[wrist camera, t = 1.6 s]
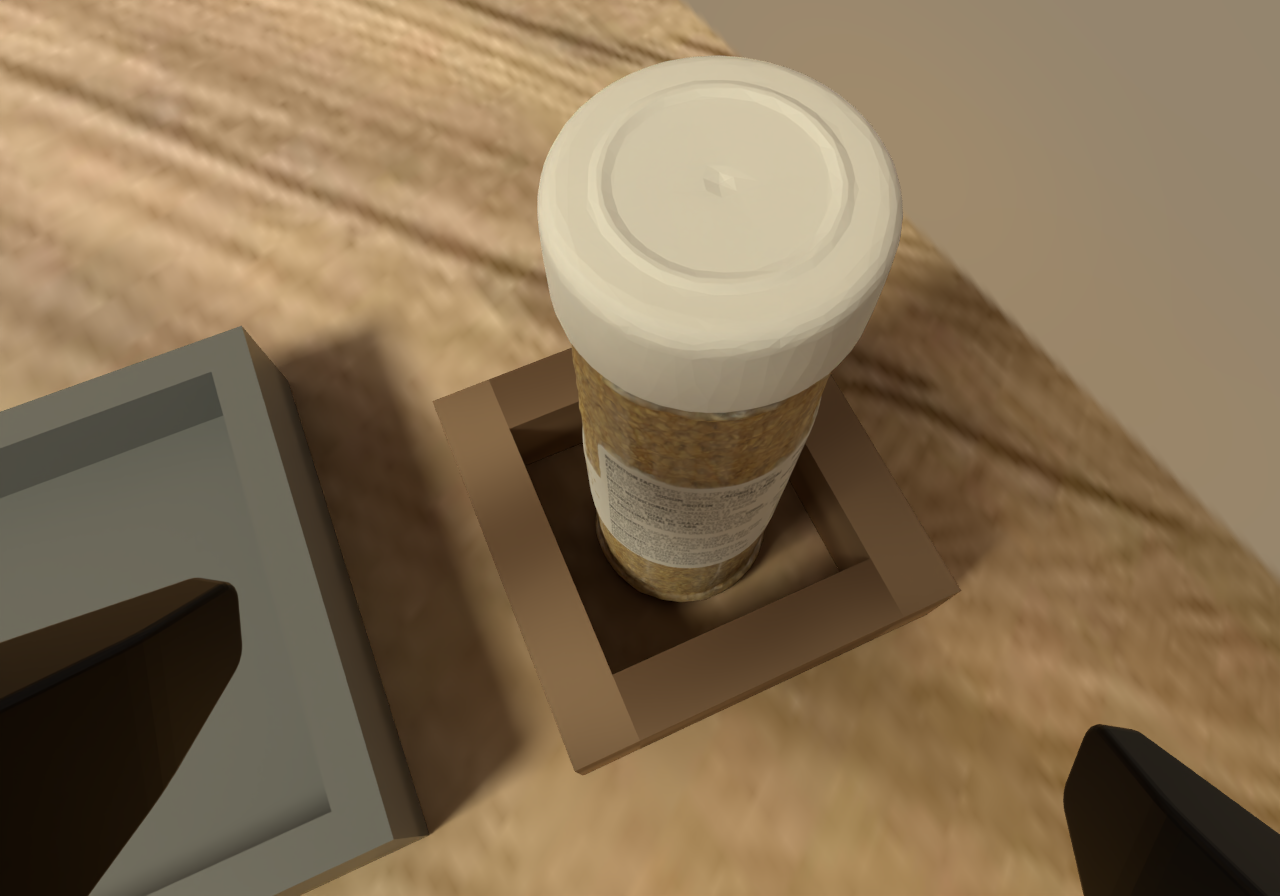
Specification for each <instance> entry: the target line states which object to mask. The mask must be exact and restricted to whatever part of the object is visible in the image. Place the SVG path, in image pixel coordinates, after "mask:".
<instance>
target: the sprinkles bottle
mask: <svg viewBox="0 0 1280 896" xmlns="http://www.w3.org/2000/svg"><path fill="white" fill-rule="evenodd" d="M902 219H903V209H902V195H901V188H900V183H899V179H898V176H897V172H896V169H895V165H894V163H893V160H892V158H891V156H890V154H889V152H888V150H887V148H886V147H885V145H884V143H883V142H882V140H881V138H880V137H879V135H878V134H877V132H876V131H875V130H874V128H873V127H872V125H871V124H870V123H869V122H868V121H867V120H866V119H865V117H864V116H863V115H862V114H861V113H860V112H859V111H858V110H857V109H856V108H855V107H854V106H853V105H851V104H850V103H849V102H848V101H847V100H845V99H844V98H843V97H842V96H840V95H839V94H838V93H836V92H835V91H833V90H832V89H830V88H829V87H827V86H826V85H824V84H822V83H820V82H818V81H817V80H815V79H813V78H811V77H809V76H807V75H805V74H802V73H799V72H797V71H795V70H792V69H790V68H787V67H784V66H780V65H777V64H774V63H770V62H766V61H761V60H755V59H750V58H744V57H731V56H698V57H689V58H682V59H677V60H671V61H666V62H663V63H659V64H656V65H652V66H649V67H646V68H644V69H641V70H639V71H636V72H634V73H631V74H629V75H627V76H625V77H623V78H621V79H619V80H617V81H615V82H614V83H612V84H610V85H609V86H607V87H605V88H604V89H602V90H601V91H600V92H598V93H597V94H596V95H594V96H593V97H592V98H591V99H590V100H588V101H587V102H586V103H585V104H584V105H582V106H581V107H580V108H579V109H578V110H577V111H576V112H575V113H574V115H573V116H572V117H571V118H570V119H569V120H568V121H567V123H566V124H565V125H564V127H563V128H562V130H561V131H560V133H559V135H558V136H557V138H556V140H555V141H554V143H553V145H552V147H551V149H550V151H549V153H548V156H547V158H546V161H545V163H544V166H543V170H542V174H541V178H540V184H539V190H538V225H539V234H540V240H541V247H542V254H543V260H544V266H545V271H546V276H547V281H548V286H549V291H550V297H551V300H552V304H553V307H554V310H555V314H556V316H557V318H558V319H559V321H560V323H561V325H562V327H563V329H564V331H565V333H566V335H567V337H568V339H569V341H570V342H571V344H572V356H573V364H574V368H575V373H576V385H577V389H578V391H579V409H580V412H581V415H582V424H583V447H584V454H585V459H586V465H587V471H588V477H589V483H590V488H591V493H592V497H593V501H594V504H595V507H596V533H597V537H598V541H599V543H600V545H601V548H602V551H603V553H604V555H605V557H606V558H607V560H608V561H609V563H610V564H611V566H612V568H613V569H614V570H615V571H616V572H617V573H618V574H619V575H620V576H621V577H622V578H623V579H624V580H625V581H626V582H628V583H629V584H630V585H631V586H633V587H634V588H635V589H636V590H638V591H639V592H641V593H644V594H647V595H651V596H654V597H656V598H659V599H662V600H669V601H676V602H689V601H697V600H705V599H707V598H709V597H711V596H713V595H716V594H718V593H721V592H723V591H724V590H726V589H728V588H729V587H731V586H732V585H733V584H735V583H736V582H737V581H738V580H739V579H741V578H742V577H743V575H744V574H745V573H746V572H747V571H748V570H749V568H750V567H751V565H752V564H753V563H754V561H755V559H756V557H757V555H758V552H759V550H760V546H761V544H762V542H763V536H764V530H765V528H766V526H767V524H768V523H769V521H770V519H771V517H772V515H773V513H774V511H775V509H776V506H777V504H778V502H779V500H780V498H781V495H782V493H783V491H784V489H785V487H786V484H787V482H788V480H789V478H790V475H791V473H792V471H793V469H794V466H795V464H796V462H797V460H798V458H799V455H800V453H801V451H802V449H803V447H804V445H805V443H806V440H807V438H808V436H809V434H810V431H811V429H812V426H813V424H814V421H815V418H816V416H817V413H818V409H819V405H820V401H821V396H822V393H823V390H824V388H825V385H826V383H827V380H828V378H829V376H830V374H831V372H832V370H833V369H835V368H836V367H837V366H838V365H839V364H840V363H841V362H842V360H843V359H844V358H845V357H846V356H847V355H848V354H849V353H850V352H851V351H852V349H853V348H854V346H855V345H856V343H857V342H858V340H859V339H860V337H861V335H862V333H863V331H864V329H865V327H866V325H867V323H868V321H869V319H870V317H871V314H872V312H873V310H874V308H875V306H876V303H877V301H878V299H879V296H880V294H881V291H882V289H883V287H884V284H885V281H886V279H887V276H888V274H889V271H890V268H891V266H892V263H893V260H894V257H895V254H896V251H897V248H898V245H899V241H900V236H901V228H902Z"/></svg>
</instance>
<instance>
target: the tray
mask: <svg viewBox="0 0 1280 896" xmlns="http://www.w3.org/2000/svg"><path fill="white" fill-rule="evenodd" d="M191 578H206V579H212V580H218V581H224V582H229V583H230V584H232V585H233V586H234V587H235V589H236V591H237V594H238V600H239V612H240V623H241V635H242V655H241V659H240V662H239V665H238V667H237V669H236V671H235V673H234V675H233V676H232V678H231V680H230V682H229V683H228V685H227V687H226V688H225V690H224V692H223V693H222V695H221V697H220V699H219V700H218V702H217V704H216V705H215V707H214V709H213V710H212V712H211V714H210V716H209V717H208V719H207V721H206V722H205V724H204V726H203V727H202V729H201V731H200V733H199V734H198V736H197V738H196V739H195V741H194V743H193V745H192V746H191V748H190V750H189V751H188V753H187V755H186V756H185V758H184V760H183V762H182V763H181V765H180V767H179V768H178V770H177V772H176V773H175V775H174V776H173V778H172V780H171V781H170V783H169V784H168V786H167V788H166V789H165V791H164V792H163V794H162V795H161V797H160V798H159V799H158V801H157V802H156V804H155V805H154V807H153V808H152V809H151V811H150V812H149V814H148V815H147V816H146V818H145V819H144V820H143V822H142V823H141V825H140V826H139V827H138V829H137V830H136V831H135V833H134V834H133V836H132V837H131V838H130V840H129V841H128V842H127V844H126V845H125V846H124V848H123V849H122V851H121V852H120V853H119V855H118V856H117V857H116V859H115V860H114V862H113V863H112V864H111V866H110V867H109V868H108V870H107V871H106V872H105V874H104V875H103V877H102V878H101V879H100V881H99V882H98V883H97V885H96V886H95V887H94V889H93V890H92V892H91V893H90V894H89V896H300V895H302V894H304V893H306V892H309V891H311V890H313V889H315V888H317V887H319V886H321V885H324V884H326V883H328V882H330V881H332V880H334V879H336V878H339V877H341V876H343V875H345V874H347V873H349V872H351V871H353V870H356V869H358V868H360V867H362V866H364V865H366V864H368V863H371V862H373V861H375V860H377V859H379V858H381V857H383V856H386V855H388V854H390V853H392V852H394V851H396V850H398V849H401V848H403V847H405V846H407V845H409V844H411V843H413V842H416V841H418V840H420V839H422V838H424V837H426V836H428V835H429V832H428V829H427V826H426V823H425V819H424V816H423V813H422V810H421V807H420V803H419V800H418V797H417V794H416V791H415V787H414V784H413V781H412V778H411V775H410V771H409V768H408V765H407V762H406V758H405V755H404V752H403V749H402V746H401V742H400V739H399V736H398V733H397V730H396V726H395V723H394V720H393V717H392V714H391V710H390V707H389V704H388V701H387V698H386V694H385V691H384V688H383V685H382V682H381V678H380V675H379V672H378V669H377V665H376V662H375V659H374V656H373V653H372V649H371V646H370V643H369V640H368V637H367V633H366V630H365V627H364V624H363V621H362V617H361V614H360V611H359V608H358V605H357V601H356V598H355V595H354V592H353V589H352V585H351V582H350V579H349V576H348V572H347V569H346V566H345V563H344V560H343V556H342V553H341V550H340V547H339V544H338V540H337V537H336V534H335V531H334V528H333V524H332V521H331V518H330V515H329V512H328V508H327V505H326V502H325V499H324V495H323V492H322V489H321V486H320V483H319V479H318V476H317V473H316V470H315V467H314V463H313V460H312V457H311V454H310V451H309V447H308V444H307V441H306V438H305V435H304V431H303V428H302V425H301V422H300V419H299V415H298V412H297V409H296V406H295V402H294V399H293V396H292V393H291V390H290V386H289V383H288V380H287V379H286V378H285V377H284V376H283V375H282V373H281V372H280V371H279V370H278V369H277V367H276V366H275V365H274V364H273V363H272V361H271V360H270V359H269V358H268V357H267V355H266V354H265V353H264V352H263V351H262V349H261V348H260V347H259V346H258V345H257V344H256V342H255V341H254V340H253V339H252V338H251V336H250V335H249V334H248V333H247V332H246V330H245V329H244V328H243V327H242V326H240V327H237V328H234V329H231V330H229V331H226V332H223V333H220V334H217V335H215V336H212V337H209V338H206V339H203V340H201V341H198V342H195V343H192V344H189V345H187V346H184V347H181V348H178V349H175V350H173V351H170V352H167V353H164V354H161V355H159V356H156V357H153V358H150V359H147V360H145V361H142V362H139V363H136V364H133V365H131V366H128V367H125V368H122V369H119V370H117V371H114V372H111V373H108V374H105V375H102V376H100V377H97V378H94V379H91V380H88V381H86V382H83V383H80V384H77V385H74V386H72V387H69V388H66V389H63V390H60V391H58V392H55V393H52V394H49V395H46V396H44V397H41V398H38V399H35V400H32V401H30V402H27V403H24V404H21V405H18V406H16V407H13V408H10V409H7V410H4V411H2V412H0V642H3V641H6V640H9V639H12V638H15V637H18V636H21V635H24V634H27V633H30V632H33V631H36V630H39V629H42V628H45V627H48V626H50V625H53V624H56V623H59V622H62V621H65V620H68V619H71V618H74V617H77V616H80V615H83V614H86V613H89V612H92V611H95V610H98V609H101V608H104V607H107V606H110V605H113V604H116V603H119V602H122V601H125V600H128V599H131V598H134V597H137V596H140V595H143V594H146V593H149V592H152V591H155V590H158V589H161V588H164V587H167V586H170V585H173V584H176V583H178V582H181V581H184V580H187V579H191Z"/></svg>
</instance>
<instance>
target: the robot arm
mask: <svg viewBox="0 0 1280 896" xmlns="http://www.w3.org/2000/svg"><path fill="white" fill-rule="evenodd" d="M241 655H242V635H241V623H240V612H239V600H238V594H237V591H236V589H235V587H234V586H233V585H232V584H230V583H229V582H224V581H218V580H212V579H206V578H191V579H187V580H184V581H181V582H178V583H176V584H173V585H170V586H167V587H164V588H161V589H158V590H155V591H152V592H149V593H146V594H143V595H140V596H137V597H134V598H131V599H128V600H125V601H122V602H119V603H116V604H113V605H110V606H107V607H104V608H101V609H98V610H95V611H92V612H89V613H86V614H83V615H80V616H77V617H74V618H71V619H68V620H65V621H62V622H59V623H56V624H53V625H50V626H48V627H45V628H42V629H39V630H36V631H33V632H30V633H27V634H24V635H21V636H18V637H15V638H12V639H9V640H6V641H3V642H0V896H89V894H90V893H91V892H92V890H93V889H94V887H95V886H96V885H97V883H98V882H99V881H100V879H101V878H102V877H103V875H104V874H105V872H106V871H107V870H108V868H109V867H110V866H111V864H112V863H113V862H114V860H115V859H116V857H117V856H118V855H119V853H120V852H121V851H122V849H123V848H124V846H125V845H126V844H127V842H128V841H129V840H130V838H131V837H132V836H133V834H134V833H135V831H136V830H137V829H138V827H139V826H140V825H141V823H142V822H143V820H144V819H145V818H146V816H147V815H148V814H149V812H150V811H151V809H152V808H153V807H154V805H155V804H156V802H157V801H158V799H159V798H160V797H161V795H162V794H163V792H164V791H165V789H166V788H167V786H168V784H169V783H170V781H171V780H172V778H173V776H174V775H175V773H176V772H177V770H178V768H179V767H180V765H181V763H182V762H183V760H184V758H185V756H186V755H187V753H188V751H189V750H190V748H191V746H192V745H193V743H194V741H195V739H196V738H197V736H198V734H199V733H200V731H201V729H202V727H203V726H204V724H205V722H206V721H207V719H208V717H209V716H210V714H211V712H212V710H213V709H214V707H215V705H216V704H217V702H218V700H219V699H220V697H221V695H222V693H223V692H224V690H225V688H226V687H227V685H228V683H229V682H230V680H231V678H232V676H233V675H234V673H235V671H236V669H237V667H238V665H239V662H240V659H241ZM1063 802H1064V811H1065V816H1066V820H1067V825H1068V829H1069V833H1070V838H1071V842H1072V847H1073V851H1074V855H1075V860H1076V864H1077V868H1078V873H1079V877H1080V881H1081V886H1082V890H1083V895H1084V896H1280V834H1278V833H1277V832H1276V831H1274V830H1273V829H1271V828H1270V827H1269V826H1267V825H1266V824H1265V823H1263V822H1262V821H1261V820H1259V819H1258V818H1256V817H1255V816H1254V815H1252V814H1251V813H1250V812H1248V811H1247V810H1245V809H1244V808H1243V807H1241V806H1240V805H1239V804H1237V803H1236V802H1235V801H1233V800H1232V799H1230V798H1229V797H1228V796H1226V795H1225V794H1224V793H1222V792H1221V791H1220V790H1218V789H1217V788H1215V787H1214V786H1213V785H1211V784H1210V783H1209V782H1207V781H1206V780H1204V779H1203V778H1202V777H1200V776H1199V775H1198V774H1196V773H1195V772H1194V771H1192V770H1191V769H1189V768H1188V767H1187V766H1185V765H1184V764H1183V763H1181V762H1180V761H1179V760H1177V759H1176V758H1174V757H1173V756H1172V755H1170V754H1169V753H1168V752H1166V751H1165V750H1163V749H1162V748H1161V747H1159V746H1158V745H1157V744H1155V743H1154V742H1153V741H1151V740H1150V739H1148V738H1147V737H1146V736H1144V735H1143V734H1141V733H1140V732H1138V731H1135V730H1132V729H1127V728H1120V727H1114V726H1108V725H1102V724H1097V725H1095V726H1092V727H1090V729H1089V730H1088V731H1087V732H1086V734H1085V736H1084V738H1083V741H1082V743H1081V746H1080V749H1079V751H1078V754H1077V756H1076V759H1075V761H1074V764H1073V766H1072V769H1071V772H1070V774H1069V777H1068V779H1067V782H1066V785H1065V789H1064V798H1063Z"/></svg>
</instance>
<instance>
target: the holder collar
mask: <svg viewBox="0 0 1280 896" xmlns="http://www.w3.org/2000/svg"><path fill="white" fill-rule="evenodd" d="M433 404H434V406H435V409H436V412H437V414H438V417H439V419H440V422H441V425H442V427H443V430H444V432H445V435H446V438H447V440H448V443H449V445H450V448H451V451H452V453H453V456H454V458H455V461H456V464H457V466H458V469H459V471H460V474H461V477H462V479H463V482H464V485H465V487H466V490H467V492H468V495H469V498H470V500H471V503H472V505H473V508H474V511H475V513H476V516H477V518H478V521H479V524H480V526H481V529H482V531H483V534H484V537H485V539H486V542H487V544H488V547H489V550H490V552H491V555H492V557H493V560H494V563H495V565H496V568H497V570H498V573H499V576H500V578H501V581H502V583H503V586H504V589H505V591H506V594H507V596H508V599H509V602H510V604H511V607H512V609H513V612H514V615H515V617H516V620H517V622H518V625H519V628H520V630H521V633H522V635H523V638H524V641H525V643H526V646H527V648H528V651H529V654H530V656H531V659H532V661H533V664H534V667H535V669H536V672H537V674H538V677H539V680H540V682H541V685H542V687H543V690H544V693H545V695H546V698H547V700H548V703H549V706H550V708H551V711H552V713H553V716H554V719H555V721H556V724H557V726H558V729H559V732H560V734H561V737H562V739H563V742H564V745H565V747H566V750H567V752H568V755H569V758H570V760H571V763H572V765H573V768H574V771H575V772H577V773H579V774H581V775H585V774H587V773H589V772H591V771H594V770H596V769H598V768H600V767H602V766H604V765H606V764H609V763H611V762H613V761H615V760H617V759H619V758H621V757H623V756H626V755H628V754H630V753H632V752H634V751H636V750H638V749H641V748H643V747H645V746H647V745H649V744H651V743H653V742H655V741H658V740H660V739H662V738H664V737H666V736H668V735H670V734H672V733H675V732H677V731H679V730H681V729H683V728H685V727H687V726H690V725H692V724H694V723H696V722H698V721H700V720H702V719H704V718H707V717H709V716H711V715H713V714H715V713H717V712H719V711H721V710H724V709H726V708H728V707H730V706H732V705H734V704H736V703H739V702H741V701H743V700H745V699H747V698H749V697H751V696H753V695H756V694H758V693H760V692H762V691H764V690H766V689H768V688H771V687H773V686H775V685H777V684H779V683H781V682H783V681H785V680H788V679H790V678H792V677H794V676H796V675H798V674H800V673H802V672H805V671H807V670H809V669H811V668H813V667H815V666H817V665H820V664H822V663H824V662H826V661H828V660H830V659H832V658H834V657H837V656H839V655H841V654H843V653H845V652H847V651H849V650H851V649H854V648H856V647H858V646H860V645H862V644H864V643H866V642H869V641H871V640H873V639H875V638H877V637H879V636H881V635H883V634H886V633H888V632H890V631H892V630H894V629H896V628H898V627H901V626H903V625H905V624H907V623H909V622H911V621H913V620H915V619H918V618H920V617H922V616H924V615H926V614H928V613H929V612H931V611H932V610H934V609H935V608H937V607H938V606H940V605H941V604H942V603H944V602H945V601H947V600H948V599H950V598H951V597H953V596H954V595H956V594H957V593H958V592H960V591H961V590H960V588H959V586H958V585H957V583H956V581H955V580H954V578H953V576H952V575H951V573H950V571H949V570H948V568H947V566H946V565H945V563H944V561H943V560H942V558H941V556H940V555H939V553H938V551H937V550H936V548H935V546H934V545H933V543H932V541H931V540H930V538H929V536H928V535H927V533H926V531H925V530H924V528H923V526H922V525H921V523H920V521H919V520H918V518H917V516H916V515H915V513H914V511H913V510H912V508H911V507H910V505H909V503H908V502H907V500H906V498H905V497H904V495H903V493H902V492H901V490H900V488H899V487H898V485H897V483H896V482H895V480H894V478H893V477H892V475H891V473H890V472H889V470H888V468H887V467H886V465H885V463H884V462H883V460H882V458H881V457H880V455H879V453H878V452H877V450H876V448H875V447H874V445H873V443H872V442H871V440H870V438H869V437H868V435H867V433H866V432H865V430H864V428H863V427H862V425H861V423H860V422H859V420H858V418H857V417H856V415H855V414H854V412H853V410H852V409H851V407H850V405H849V404H848V402H847V400H846V399H845V397H844V395H843V394H842V392H841V390H840V389H839V387H838V385H837V384H836V382H835V380H834V379H833V377H832V375H831V374H830V376H829V378H828V380H827V383H826V385H825V388H824V390H823V393H822V396H821V401H820V405H819V409H818V413H817V416H816V418H815V421H814V424H813V426H812V429H811V431H810V434H809V436H808V438H807V440H806V443H805V445H804V447H803V449H802V451H801V453H800V455H799V458H798V460H797V462H796V464H795V466H794V469H793V471H792V473H791V475H790V478H789V480H790V482H791V484H792V486H793V487H794V489H795V491H796V493H797V495H798V496H799V498H800V500H801V502H802V504H803V506H804V507H805V509H806V511H807V513H808V515H809V517H810V518H811V520H812V522H813V524H814V526H815V527H816V529H817V531H818V533H819V535H820V537H821V538H822V540H823V542H824V544H825V546H826V547H827V549H828V551H829V553H830V555H831V557H832V558H833V560H834V562H835V564H836V566H837V568H838V569H839V571H840V572H839V573H837V574H834V575H832V576H830V577H828V578H826V579H823V580H821V581H819V582H817V583H814V584H812V585H810V586H808V587H806V588H803V589H801V590H799V591H797V592H795V593H792V594H790V595H788V596H786V597H783V598H781V599H779V600H777V601H775V602H772V603H770V604H768V605H766V606H764V607H761V608H759V609H757V610H755V611H753V612H750V613H748V614H746V615H744V616H741V617H739V618H737V619H735V620H733V621H730V622H728V623H726V624H724V625H722V626H719V627H717V628H715V629H713V630H710V631H708V632H706V633H704V634H702V635H699V636H697V637H695V638H693V639H691V640H688V641H686V642H684V643H682V644H680V645H677V646H675V647H673V648H671V649H668V650H666V651H664V652H662V653H660V654H657V655H655V656H653V657H651V658H649V659H646V660H644V661H642V662H640V663H637V664H635V665H633V666H631V667H629V668H626V669H624V670H622V671H620V672H618V673H615V674H613V675H612V673H611V671H610V668H609V666H608V663H607V661H606V659H605V656H604V654H603V651H602V649H601V647H600V644H599V642H598V639H597V637H596V635H595V632H594V630H593V628H592V625H591V623H590V620H589V618H588V616H587V613H586V611H585V608H584V606H583V604H582V601H581V599H580V596H579V594H578V592H577V589H576V587H575V585H574V582H573V580H572V577H571V575H570V573H569V570H568V568H567V565H566V563H565V561H564V558H563V556H562V553H561V551H560V549H559V546H558V544H557V542H556V539H555V537H554V534H553V532H552V530H551V527H550V525H549V522H548V520H547V518H546V515H545V513H544V510H543V508H542V506H541V503H540V501H539V499H538V496H537V494H536V491H535V489H534V487H533V484H532V482H531V479H530V477H529V475H528V472H527V470H526V468H525V465H528V464H530V463H533V462H535V461H538V460H540V459H543V458H545V457H548V456H550V455H552V454H555V453H557V452H560V451H562V450H565V449H567V448H570V447H572V446H575V445H577V444H580V443H582V442H583V424H582V415H581V412H580V409H579V391H578V389H577V385H576V373H575V368H574V364H573V356H572V348H570V349H567V350H565V351H562V352H560V353H557V354H554V355H552V356H549V357H547V358H544V359H541V360H539V361H536V362H534V363H531V364H528V365H526V366H523V367H520V368H518V369H515V370H513V371H510V372H507V373H505V374H502V375H500V376H497V377H494V378H492V379H489V380H487V381H484V382H481V383H479V384H476V385H474V386H471V387H468V388H466V389H463V390H461V391H458V392H455V393H453V394H450V395H448V396H445V397H442V398H440V399H437V400H435V401H433Z"/></svg>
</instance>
